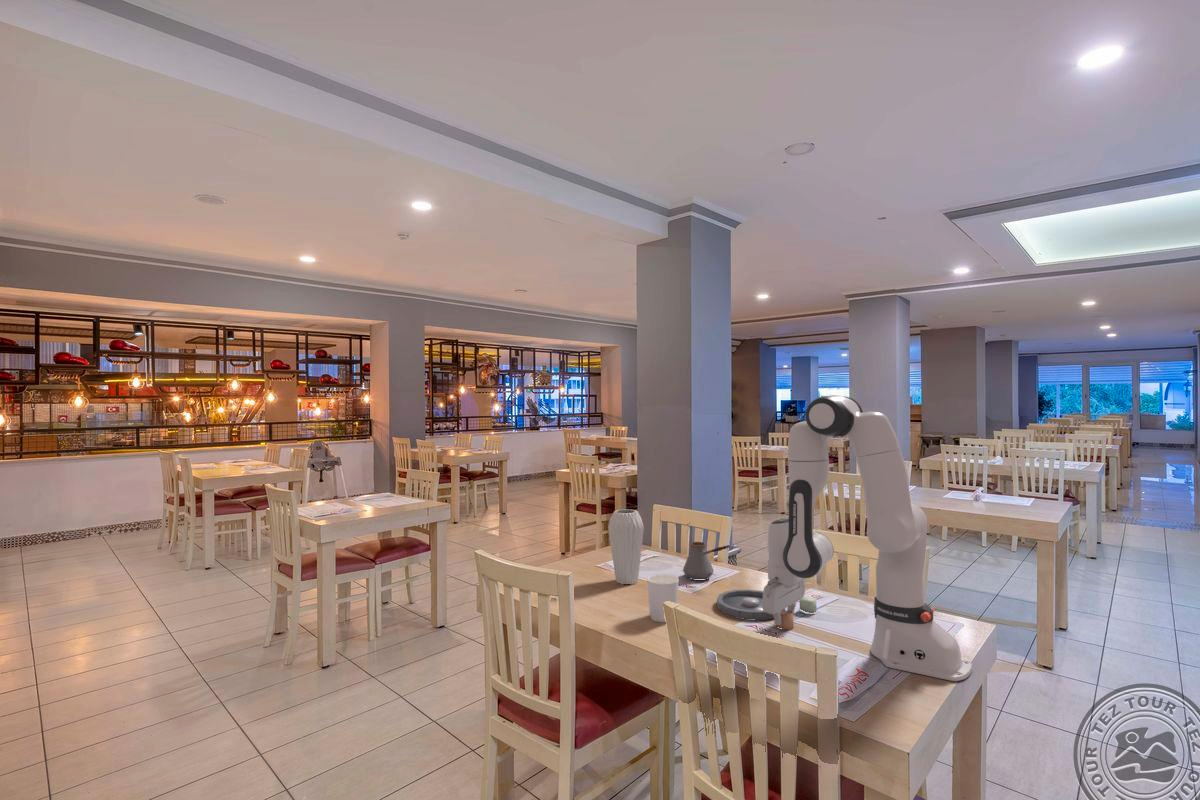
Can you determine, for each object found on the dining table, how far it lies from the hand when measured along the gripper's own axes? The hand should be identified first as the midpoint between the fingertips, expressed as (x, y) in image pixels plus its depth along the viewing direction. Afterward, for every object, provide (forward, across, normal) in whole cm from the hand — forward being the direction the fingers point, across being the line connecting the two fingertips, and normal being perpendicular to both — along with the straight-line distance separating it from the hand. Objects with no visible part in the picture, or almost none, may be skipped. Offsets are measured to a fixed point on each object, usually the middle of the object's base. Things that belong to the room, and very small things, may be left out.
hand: (784, 620), depth 167 cm
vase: (+2, +1, +63) cm, 63 cm away
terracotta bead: (+2, 0, 0) cm, 2 cm away
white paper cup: (+2, -18, +31) cm, 36 cm away
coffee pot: (+2, +22, +41) cm, 46 cm away
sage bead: (+2, +16, 0) cm, 16 cm away
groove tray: (+2, +7, +15) cm, 17 cm away
